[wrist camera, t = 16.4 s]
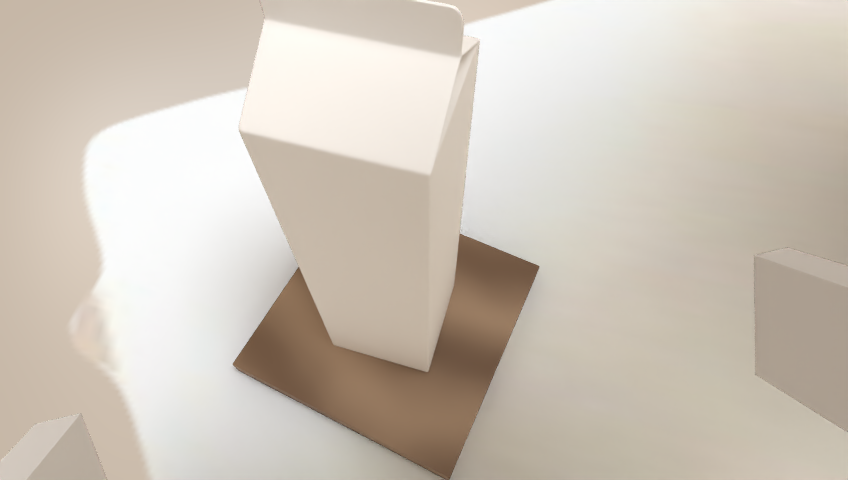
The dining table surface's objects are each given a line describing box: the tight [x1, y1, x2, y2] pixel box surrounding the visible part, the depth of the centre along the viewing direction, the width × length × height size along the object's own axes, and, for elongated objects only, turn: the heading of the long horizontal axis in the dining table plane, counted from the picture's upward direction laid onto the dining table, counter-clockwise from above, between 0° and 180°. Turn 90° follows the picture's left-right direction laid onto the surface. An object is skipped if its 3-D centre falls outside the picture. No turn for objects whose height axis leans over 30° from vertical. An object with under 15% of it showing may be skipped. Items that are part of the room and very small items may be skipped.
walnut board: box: [233, 234, 539, 480], centre depth 33 cm, size 14×14×1 cm
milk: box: [239, 0, 480, 372], centre depth 23 cm, size 6×6×22 cm
